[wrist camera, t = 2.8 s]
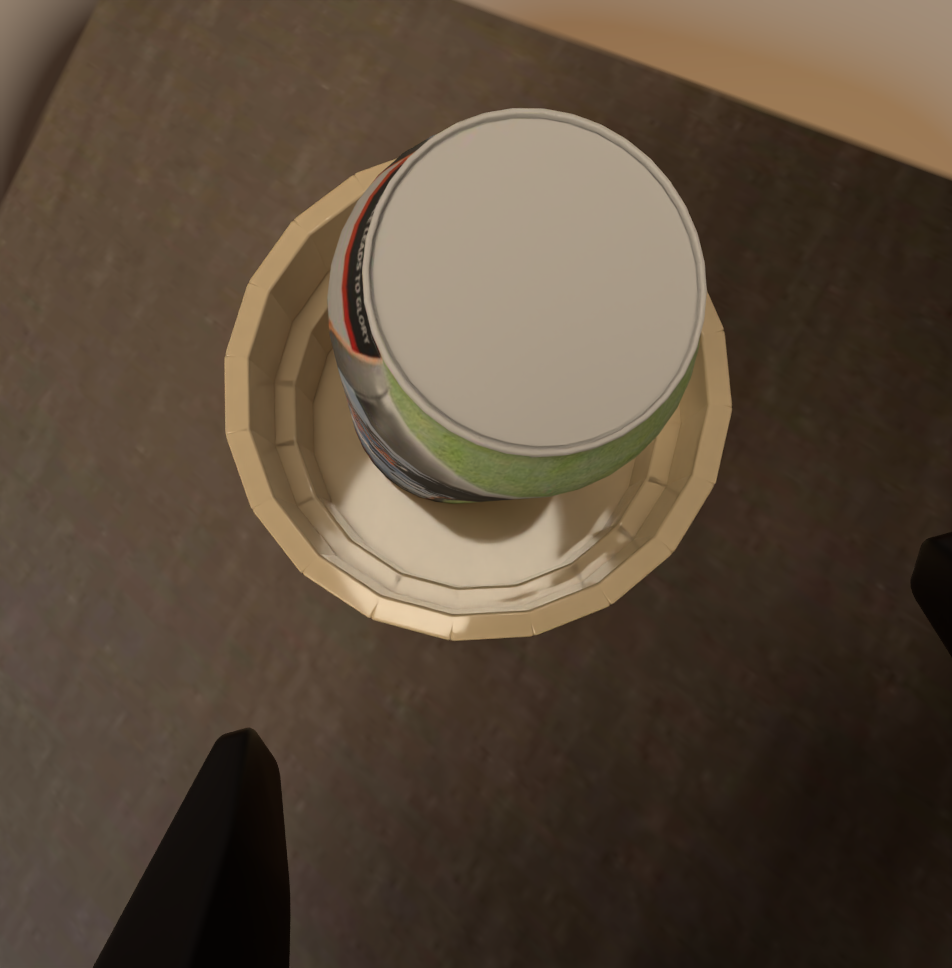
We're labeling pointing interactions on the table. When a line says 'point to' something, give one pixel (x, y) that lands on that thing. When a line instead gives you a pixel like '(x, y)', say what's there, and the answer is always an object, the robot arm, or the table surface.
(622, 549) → the bowl
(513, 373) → the beverage can
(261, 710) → the table surface
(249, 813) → the robot arm
